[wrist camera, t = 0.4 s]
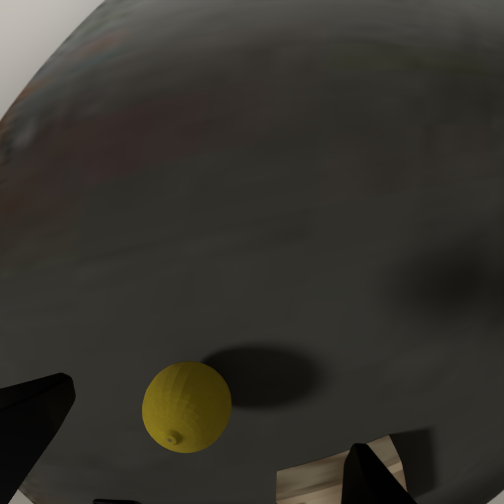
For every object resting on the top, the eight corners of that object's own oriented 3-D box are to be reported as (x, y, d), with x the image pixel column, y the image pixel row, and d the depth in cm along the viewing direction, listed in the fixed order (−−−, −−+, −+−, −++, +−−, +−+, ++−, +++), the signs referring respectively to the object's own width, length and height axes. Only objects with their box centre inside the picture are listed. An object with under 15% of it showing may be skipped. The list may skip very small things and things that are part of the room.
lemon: (245, 355, 22) (228, 417, 14) (230, 415, 23) (211, 485, 15) (171, 335, 23) (124, 385, 15) (162, 396, 23) (122, 456, 15)
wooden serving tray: (309, 525, 24) (310, 551, 20) (277, 471, 23) (276, 500, 19) (402, 495, 23) (411, 519, 19) (388, 434, 22) (401, 461, 18)
